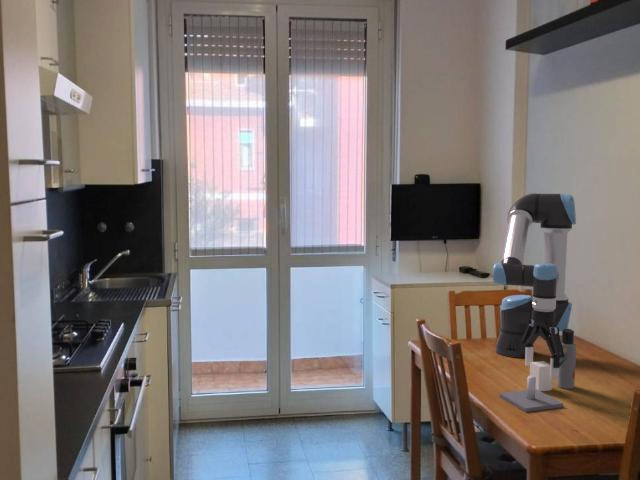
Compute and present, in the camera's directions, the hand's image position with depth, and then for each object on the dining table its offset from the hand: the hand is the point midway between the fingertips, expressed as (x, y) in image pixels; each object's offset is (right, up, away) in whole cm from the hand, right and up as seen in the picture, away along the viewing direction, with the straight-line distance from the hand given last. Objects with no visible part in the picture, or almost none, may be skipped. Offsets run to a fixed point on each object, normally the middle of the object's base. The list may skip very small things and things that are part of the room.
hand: (540, 371), depth 222 cm
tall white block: (0, -6, +1) cm, 6 cm away
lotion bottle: (+10, -6, +3) cm, 12 cm away
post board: (-7, -8, -12) cm, 16 cm away
